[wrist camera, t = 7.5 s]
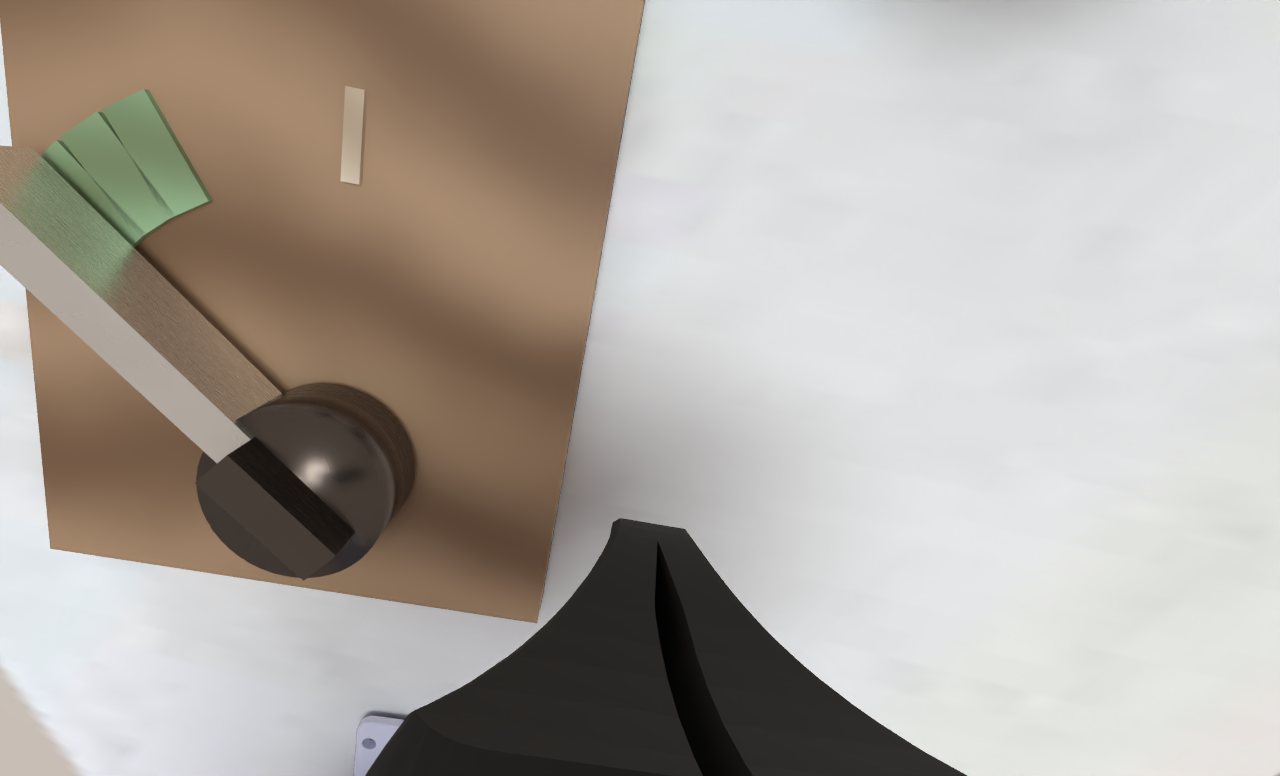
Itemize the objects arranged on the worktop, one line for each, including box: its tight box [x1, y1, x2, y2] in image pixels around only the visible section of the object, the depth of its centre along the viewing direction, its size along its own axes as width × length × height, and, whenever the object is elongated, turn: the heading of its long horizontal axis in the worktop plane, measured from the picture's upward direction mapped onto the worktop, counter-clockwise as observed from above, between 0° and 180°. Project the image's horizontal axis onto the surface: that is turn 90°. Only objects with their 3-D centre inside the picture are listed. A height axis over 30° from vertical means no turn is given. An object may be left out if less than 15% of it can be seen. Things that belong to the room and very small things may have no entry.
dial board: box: [0, 0, 645, 623], centre depth 19 cm, size 20×16×1 cm
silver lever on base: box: [0, 146, 415, 581], centre depth 17 cm, size 14×5×4 cm, turn 38°
